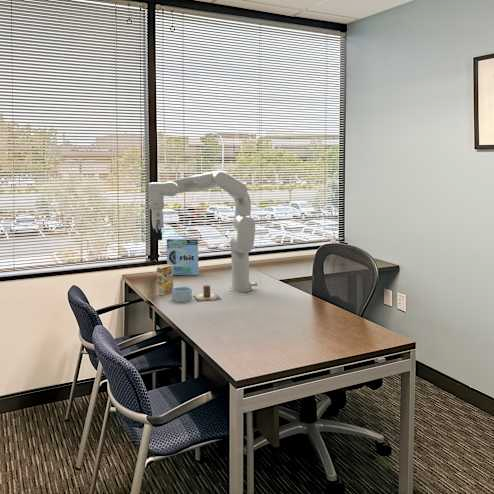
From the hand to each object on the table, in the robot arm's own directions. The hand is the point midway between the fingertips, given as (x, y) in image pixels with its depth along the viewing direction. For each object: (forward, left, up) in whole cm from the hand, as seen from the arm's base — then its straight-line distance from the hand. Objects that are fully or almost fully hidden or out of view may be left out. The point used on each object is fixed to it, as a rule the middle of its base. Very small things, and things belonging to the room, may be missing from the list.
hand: (157, 238), depth 279 cm
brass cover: (-23, +13, -31) cm, 40 cm away
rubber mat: (-23, +13, -31) cm, 41 cm away
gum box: (-22, -52, -31) cm, 65 cm away
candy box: (-4, -5, -31) cm, 32 cm away
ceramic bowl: (-10, +12, -31) cm, 35 cm away
